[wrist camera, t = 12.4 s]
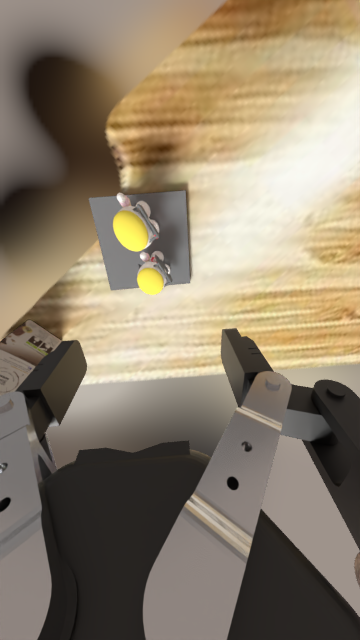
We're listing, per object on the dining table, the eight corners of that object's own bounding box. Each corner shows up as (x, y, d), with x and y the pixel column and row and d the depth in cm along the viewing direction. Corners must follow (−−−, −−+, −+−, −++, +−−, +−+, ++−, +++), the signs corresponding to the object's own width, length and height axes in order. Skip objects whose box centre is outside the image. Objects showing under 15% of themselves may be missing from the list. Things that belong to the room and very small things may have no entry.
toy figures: (175, 279, 31) (178, 301, 24) (147, 287, 31) (142, 311, 24) (148, 188, 25) (141, 179, 18) (114, 199, 26) (94, 195, 18)
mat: (184, 191, 27) (185, 190, 26) (189, 281, 32) (190, 283, 31) (91, 198, 26) (88, 198, 25) (112, 288, 32) (111, 290, 31)
